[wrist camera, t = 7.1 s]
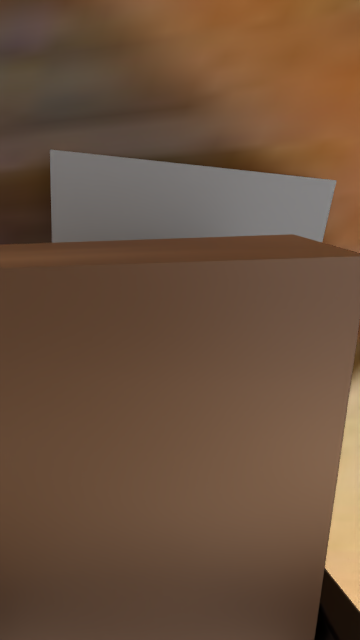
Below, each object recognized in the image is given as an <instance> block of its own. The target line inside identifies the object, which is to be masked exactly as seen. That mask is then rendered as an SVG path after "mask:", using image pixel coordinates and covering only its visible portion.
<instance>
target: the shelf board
mask: <svg viewBox="0 0 360 640" xmlns="http://www.w3.org/2000/svg"><path fill="white" fill-rule="evenodd" d="M359 321H360V253H357V252H353V251H350V250H346V249H343V248H339V247H336V246H332V245H329V244H325V243H322V242H318V241H315V240H311V239H308V238H304V237H301V236H297V235H294V234H287V235H259V236H230V237H201V238H173V239H144V240H116V241H87V242H59V243H30V244H2V245H0V640H314V638H315V631H316V624H317V617H318V610H319V603H320V596H321V589H322V582H323V575H324V568H325V561H326V554H327V547H328V540H329V533H330V526H331V519H332V512H333V504H334V497H335V490H336V483H337V476H338V469H339V462H340V455H341V448H342V441H343V434H344V427H345V420H346V413H347V406H348V399H349V392H350V385H351V378H352V371H353V364H354V357H355V350H356V343H357V336H358V329H359Z"/></svg>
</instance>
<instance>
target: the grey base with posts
mask: <svg viewBox="0 0 360 640" xmlns="http://www.w3.org/2000/svg"><path fill="white" fill-rule="evenodd" d="M50 175H51V221H52V243H59V242H87V241H116V240H144V239H173V238H201V237H230V236H259V235H287V234H294V235H297V236H301V237H304V238H308V239H311V240H315V241H318V242H322V241H323V237H324V232H325V228H326V224H327V219H328V215H329V211H330V206H331V202H332V198H333V193H334V189H335V185H336V180H328V179H318V178H309V177H300V176H291V175H281V174H272V173H263V172H254V171H244V170H235V169H226V168H217V167H207V166H198V165H189V164H180V163H170V162H161V161H152V160H143V159H133V158H124V157H115V156H106V155H96V154H87V153H78V152H69V151H59V150H50Z"/></svg>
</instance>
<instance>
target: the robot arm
mask: <svg viewBox="0 0 360 640" xmlns="http://www.w3.org/2000/svg"><path fill="white" fill-rule="evenodd" d="M314 640H360V611H359V610H358V609H357V608H356V606H355V605H354V604H353V603H352V601H351V600H350V599H349V598H348V596H347V595H346V594H345V593H344V591H343V590H342V589H341V588H340V586H339V585H338V584H337V583H336V581H335V580H334V579H333V578H332V576H331V575H330V574H329V573H328V571H327V570H326V569H325V568H324V575H323V582H322V589H321V596H320V603H319V610H318V617H317V624H316V631H315V638H314Z"/></svg>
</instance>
